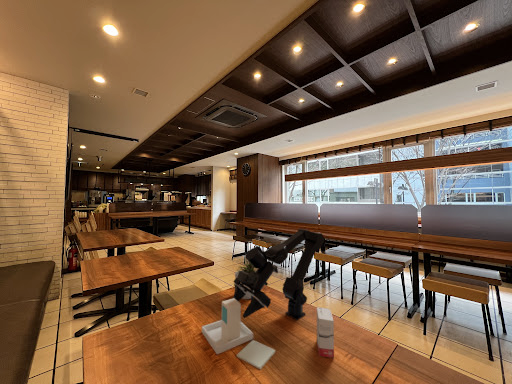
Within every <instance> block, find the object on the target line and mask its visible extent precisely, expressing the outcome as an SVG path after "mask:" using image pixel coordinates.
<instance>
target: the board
mask: <svg viewBox="0 0 512 384" xmlns="http://www.w3.org/2000/svg"><path fill="white" fill-rule="evenodd" d="M275 353H276V349H274V348H272V347H269V346H268V345H265V344H263V343H261V342H259V341H257V340H254V339H252V340H250V341H249V343H248V344H246V346H244V347H243V348H242V350H240V351H239V352H238V353H237V354H236V357H237V358H238V359H240V360H242V361H244V362H245V363H247V364H248V365H251V366H253V367H254V368H257V369H258V370H262V368H263V367H264V366H265V365H266V364H267V362H268V361H270V359H271V358H272V357H273V355H274V354H275Z"/></svg>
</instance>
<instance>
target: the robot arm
mask: <svg viewBox="0 0 512 384" xmlns="http://www.w3.org/2000/svg"><path fill="white" fill-rule="evenodd" d="M303 242H304V249H303V252H302V254H301V256H300V258H299V260H298V263H297V265H296V267H295V270H294V271H293V274H292V275H291V276H290V277H288V276H286V278H285V281H284V283H283V284H282V293H283V295H284V298H285V299H287V300H288V301H287V303H288V305H287V311H286V312H285V315H287V316H289V317H290V318H293V319H295V320H296V321H297V320H300V319H301V318H302V317H304V316H306V312H304V311H303V309H304V308H303V306H304V305H305V304H306V303H307V302H308V297H307V296H306V295H305V293H304V290H305V285H304V280H305V277H306V274H307V273H308V270H309V268H310V265H311V263H312V261H313V258H314V256H315V253H316V252H318V251H319V250H320V249H321V248H322V246H323V245H324V243H325V236H324V235H323V233H321V232H315V231H310V230H308V229H305V228H299V229H297V231H296V232H295V233H294V234H292V235H291V236H289V237H288V238H287V239H285V240H284V241H283V242H281V243H280V244H275V245H273V246H270V247H269V248H267V250H264V251H263V249H262V248H261V247H260V246H259V245H256V246H254V247H253V248H251V249H250V250H248V251H247V252H246V254H245V259H247V262H248V263H249V262H250V263H251V264H252V266H253V267H254V269H255V270H256V272H251V273H249V274H248V273H245V272H243V271H239V274H238V277H237V278H234V280H233V281H232V282H233V286H234V293H233V295H232V298H231V299H233V298H234V299H236V300H237V301H238V302H240V301H241V300H243V299H242V298H243V297H244V296H245V295H246V294H245V293H244V292H247V291H248V292H249V293H251V294H252V295H254V297H253V296H252V295H251V299H250V302H249V303H248V305H247V307H246V309H245V311H244V312H243V314H242V318H243V319H246V318H247V317H249V316H250V315H252V314H254V313H256V312H257V311H260V310H261V309H265V308H269V307H270V305H271V304H272V303H271V302H272V299H271V298H270V297H269V296H268V295H267V294H266V293H265V292H264V291H262V289H264V286H266V287H267V286H268V284H269V283H268V280H269V279H270V278H271V276H272V275H273V273H275V274H278V273H279V270H278V265H282V264H283V263H284V262H285V261H286V259H288V256H289V254H290V252H292V251H293V250H294V249H295V248H296V247H298V246H299V245H300V244H301V243H303ZM273 263H274V264H273ZM243 291H244V292H243ZM253 291H254V292H253Z"/></svg>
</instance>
